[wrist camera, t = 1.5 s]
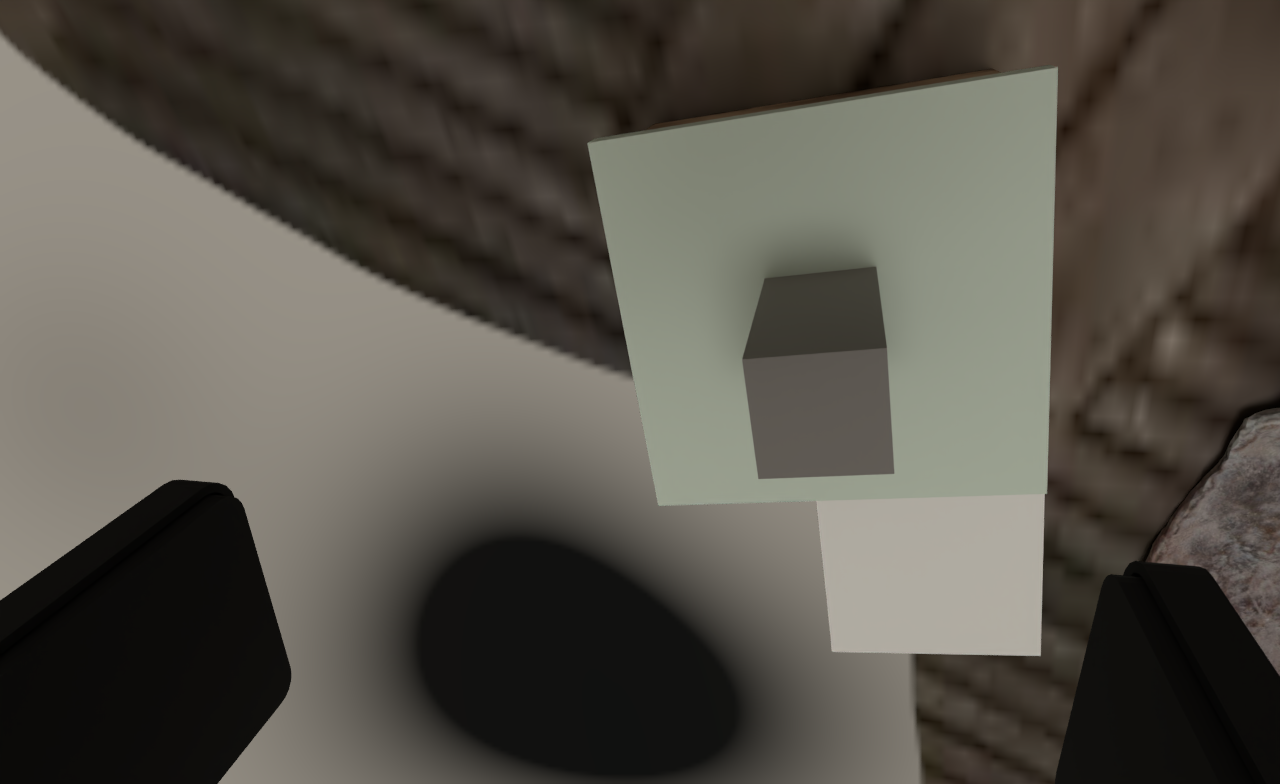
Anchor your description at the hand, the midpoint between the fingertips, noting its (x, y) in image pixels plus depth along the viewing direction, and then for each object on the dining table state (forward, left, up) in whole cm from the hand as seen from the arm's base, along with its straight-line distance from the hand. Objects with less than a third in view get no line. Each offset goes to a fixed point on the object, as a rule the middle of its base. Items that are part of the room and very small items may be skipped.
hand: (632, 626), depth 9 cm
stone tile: (-5, +20, -28) cm, 35 cm away
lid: (-1, +4, -21) cm, 21 cm away
